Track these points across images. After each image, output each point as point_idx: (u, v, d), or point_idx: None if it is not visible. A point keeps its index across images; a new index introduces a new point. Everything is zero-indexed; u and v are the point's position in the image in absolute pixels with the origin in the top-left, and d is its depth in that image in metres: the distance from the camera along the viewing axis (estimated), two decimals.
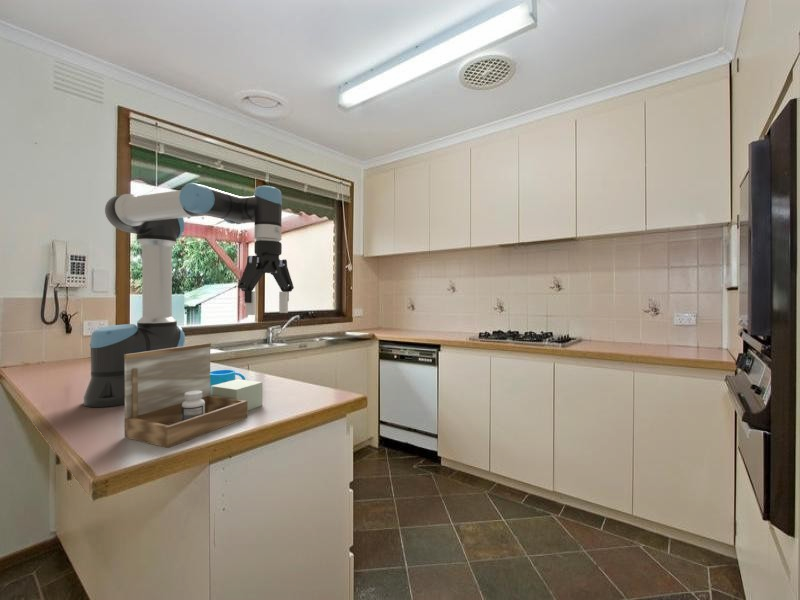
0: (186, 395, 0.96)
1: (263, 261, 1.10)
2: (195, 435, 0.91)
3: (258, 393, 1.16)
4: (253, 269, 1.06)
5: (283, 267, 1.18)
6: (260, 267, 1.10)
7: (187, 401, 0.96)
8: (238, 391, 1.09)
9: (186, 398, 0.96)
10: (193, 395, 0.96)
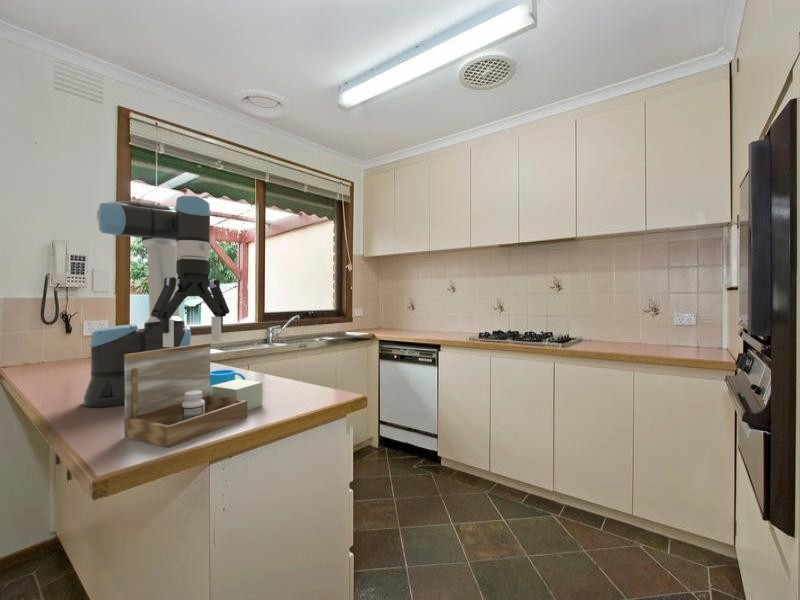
0: (186, 395, 0.96)
1: (185, 283, 0.94)
2: (195, 435, 0.91)
3: (258, 393, 1.16)
4: (170, 293, 0.90)
5: (215, 289, 1.02)
6: (182, 290, 0.94)
7: (187, 401, 0.96)
8: (238, 391, 1.09)
9: (186, 398, 0.96)
10: (193, 395, 0.96)
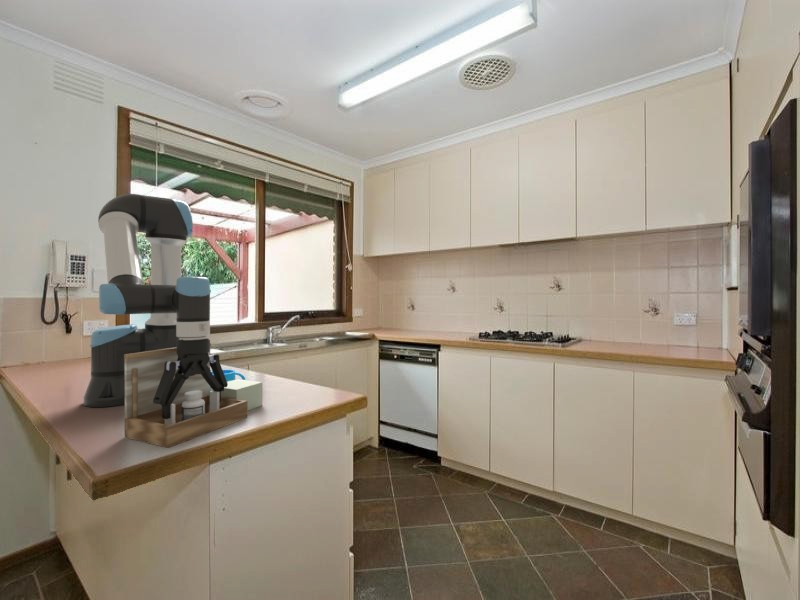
0: (186, 395, 0.96)
1: (185, 364, 0.94)
2: (195, 435, 0.91)
3: (258, 393, 1.16)
4: (171, 379, 0.91)
5: (214, 363, 1.03)
6: (182, 371, 0.95)
7: (187, 401, 0.96)
8: (238, 391, 1.09)
9: (186, 398, 0.96)
10: (193, 395, 0.96)
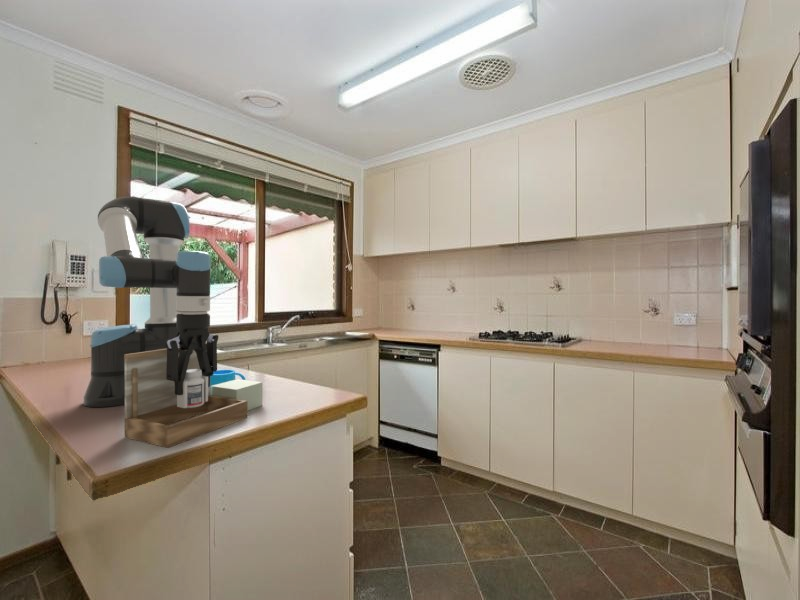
0: None
1: (186, 338, 0.95)
2: (195, 435, 0.91)
3: (258, 393, 1.16)
4: (176, 356, 0.92)
5: (211, 343, 1.02)
6: None
7: (186, 379, 0.96)
8: (238, 391, 1.09)
9: (185, 376, 0.96)
10: (192, 373, 0.96)
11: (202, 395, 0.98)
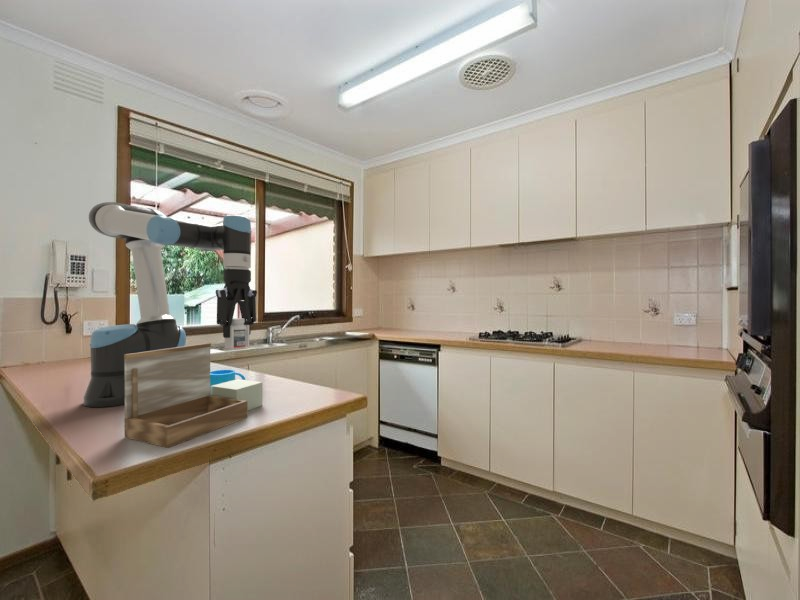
0: (232, 320, 1.12)
1: (232, 289, 1.11)
2: (195, 435, 0.91)
3: (258, 393, 1.16)
4: (225, 303, 1.09)
5: (251, 297, 1.18)
6: None
7: (232, 325, 1.13)
8: (238, 391, 1.09)
9: None
10: (237, 320, 1.12)
11: (245, 339, 1.14)
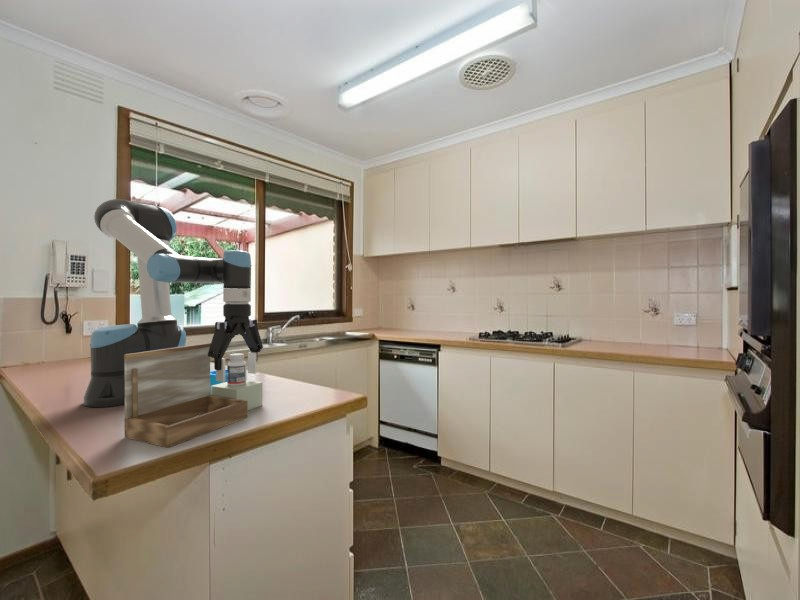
0: (231, 356, 1.12)
1: (231, 325, 1.11)
2: (195, 435, 0.91)
3: (258, 393, 1.16)
4: (221, 336, 1.08)
5: (253, 327, 1.19)
6: (229, 331, 1.12)
7: (232, 361, 1.13)
8: (238, 391, 1.09)
9: (231, 358, 1.13)
10: (237, 356, 1.13)
11: (245, 375, 1.14)
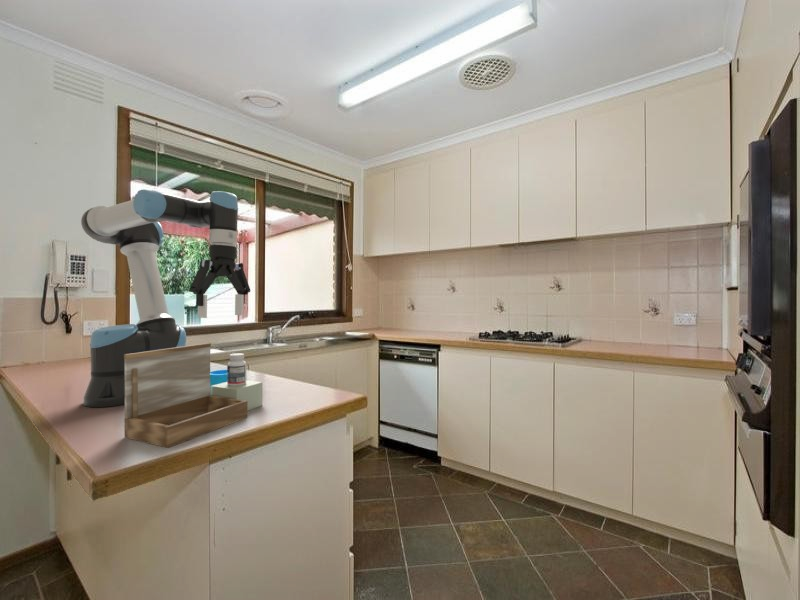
0: (231, 356, 1.12)
1: (216, 265, 1.12)
2: (195, 435, 0.91)
3: (258, 393, 1.16)
4: (205, 273, 1.09)
5: (239, 270, 1.21)
6: (214, 271, 1.13)
7: (232, 361, 1.13)
8: (238, 391, 1.09)
9: (231, 358, 1.13)
10: (237, 356, 1.13)
11: (245, 375, 1.14)
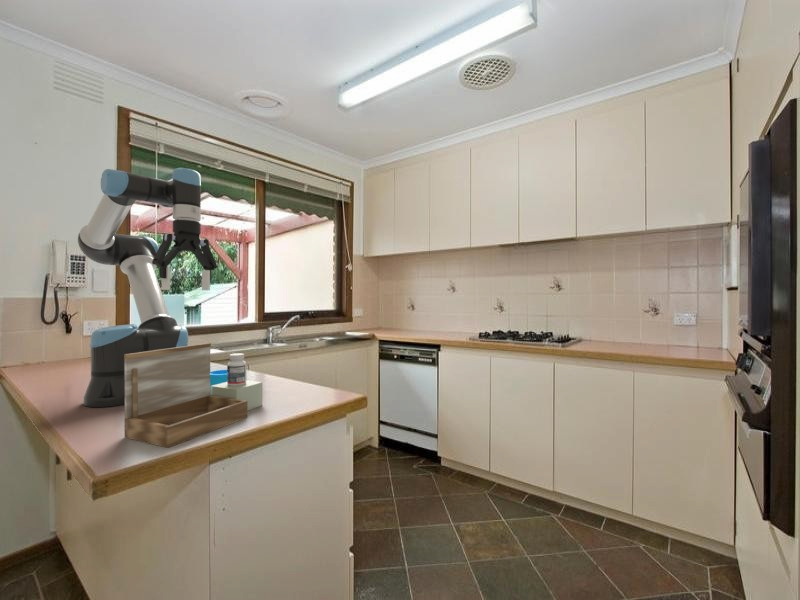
0: (231, 356, 1.13)
1: (180, 239, 1.15)
2: (195, 435, 0.91)
3: (258, 393, 1.16)
4: (168, 246, 1.12)
5: (204, 246, 1.24)
6: (177, 245, 1.16)
7: (232, 361, 1.13)
8: (238, 391, 1.09)
9: (231, 358, 1.13)
10: (237, 356, 1.13)
11: (245, 375, 1.14)
